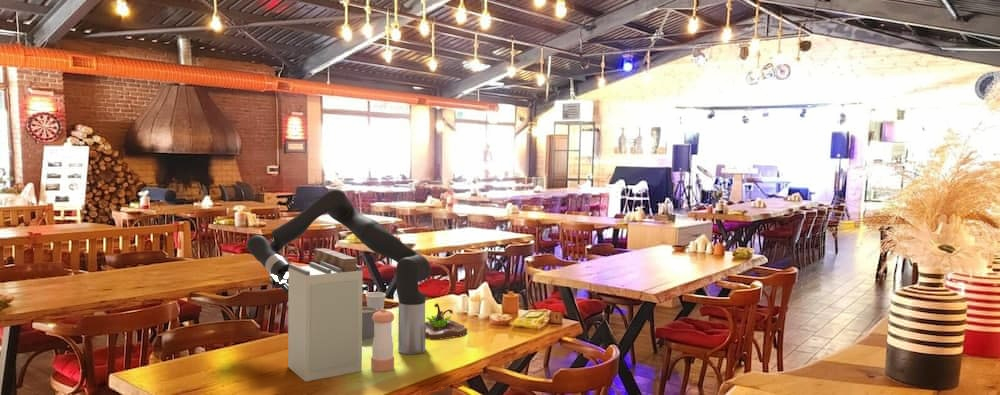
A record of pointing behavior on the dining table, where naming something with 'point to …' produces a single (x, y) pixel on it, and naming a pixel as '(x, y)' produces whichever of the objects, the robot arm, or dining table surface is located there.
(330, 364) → the cabinet
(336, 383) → the dining table surface
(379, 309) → the dixie cup
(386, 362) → the pepper shaker
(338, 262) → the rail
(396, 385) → the dining table surface
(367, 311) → the coffee mug
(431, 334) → the plant
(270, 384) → the dining table surface
